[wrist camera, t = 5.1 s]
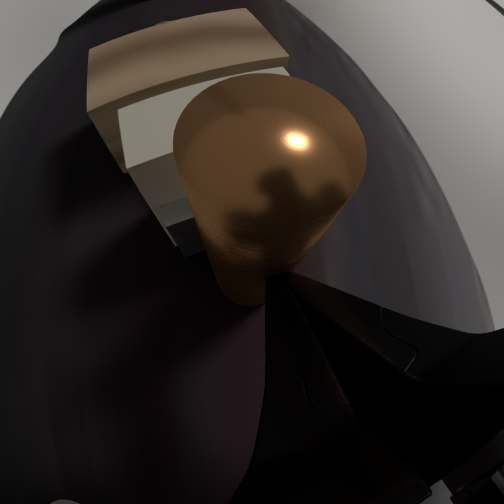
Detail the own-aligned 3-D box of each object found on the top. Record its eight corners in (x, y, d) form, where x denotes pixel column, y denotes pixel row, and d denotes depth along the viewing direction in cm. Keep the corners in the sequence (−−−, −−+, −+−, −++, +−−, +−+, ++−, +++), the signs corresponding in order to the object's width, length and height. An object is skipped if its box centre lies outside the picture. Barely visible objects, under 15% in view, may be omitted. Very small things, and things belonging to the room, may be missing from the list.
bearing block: (276, 126, 19) (289, 56, 13) (123, 173, 18) (87, 111, 12) (243, 70, 21) (245, 7, 15) (114, 107, 20) (89, 49, 14)
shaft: (311, 284, 16) (440, 178, 5) (207, 323, 15) (126, 284, 4) (200, 46, 22) (191, -62, 11) (136, 64, 21) (108, -42, 10)
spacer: (284, 209, 18) (317, 114, 10) (175, 246, 17) (126, 168, 9) (266, 169, 18) (282, 66, 10) (162, 202, 17) (117, 109, 9)
